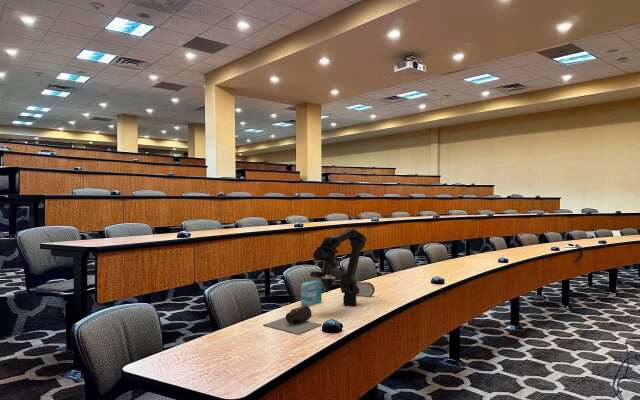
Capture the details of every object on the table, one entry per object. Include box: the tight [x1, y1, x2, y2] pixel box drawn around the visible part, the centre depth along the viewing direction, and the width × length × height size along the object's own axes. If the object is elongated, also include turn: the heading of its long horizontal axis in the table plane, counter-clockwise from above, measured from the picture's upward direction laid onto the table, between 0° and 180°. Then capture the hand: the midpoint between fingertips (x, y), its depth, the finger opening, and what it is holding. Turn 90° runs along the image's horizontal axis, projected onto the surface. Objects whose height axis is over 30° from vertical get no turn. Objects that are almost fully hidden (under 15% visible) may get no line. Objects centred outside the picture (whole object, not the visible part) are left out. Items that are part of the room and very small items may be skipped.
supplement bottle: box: [285, 305, 312, 324], centre depth 195 cm, size 7×7×12 cm
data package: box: [300, 280, 323, 307], centre depth 231 cm, size 12×4×12 cm, turn 137°
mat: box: [263, 316, 323, 336], centre depth 192 cm, size 16×22×1 cm
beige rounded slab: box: [356, 281, 376, 298], centre depth 247 cm, size 15×3×8 cm, turn 71°
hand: (327, 292), depth 212 cm, fingers closed
